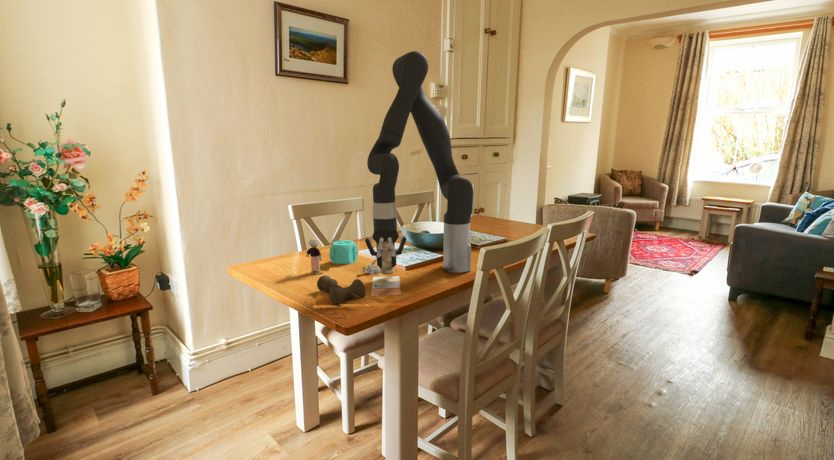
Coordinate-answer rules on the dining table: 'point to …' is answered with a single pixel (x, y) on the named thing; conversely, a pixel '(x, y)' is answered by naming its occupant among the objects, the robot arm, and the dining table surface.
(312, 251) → the grandmother figurine
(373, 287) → the board
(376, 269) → the soldier figure
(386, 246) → the pawn
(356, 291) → the kendama
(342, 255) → the decorative dice
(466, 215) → the robot arm
